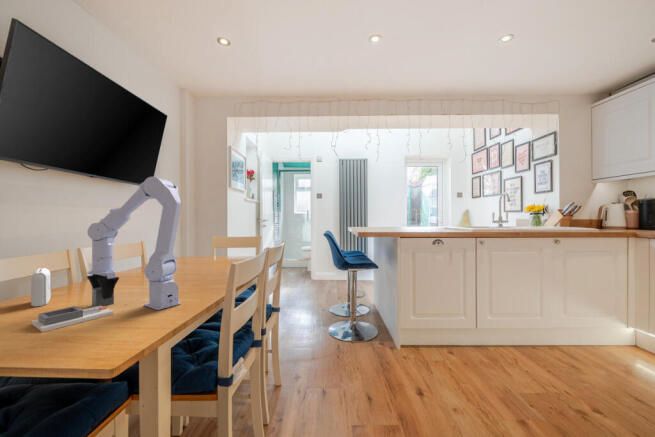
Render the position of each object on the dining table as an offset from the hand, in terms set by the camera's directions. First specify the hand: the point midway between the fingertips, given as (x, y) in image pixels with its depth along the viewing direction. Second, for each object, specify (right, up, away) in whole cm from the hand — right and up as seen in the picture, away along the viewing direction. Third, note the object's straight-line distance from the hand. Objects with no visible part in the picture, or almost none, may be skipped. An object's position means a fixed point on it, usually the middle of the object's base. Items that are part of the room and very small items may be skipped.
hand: (102, 296), depth 96 cm
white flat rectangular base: (+2, -3, -13) cm, 14 cm away
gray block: (0, -3, 0) cm, 3 cm away
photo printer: (-24, -3, +2) cm, 24 cm away
